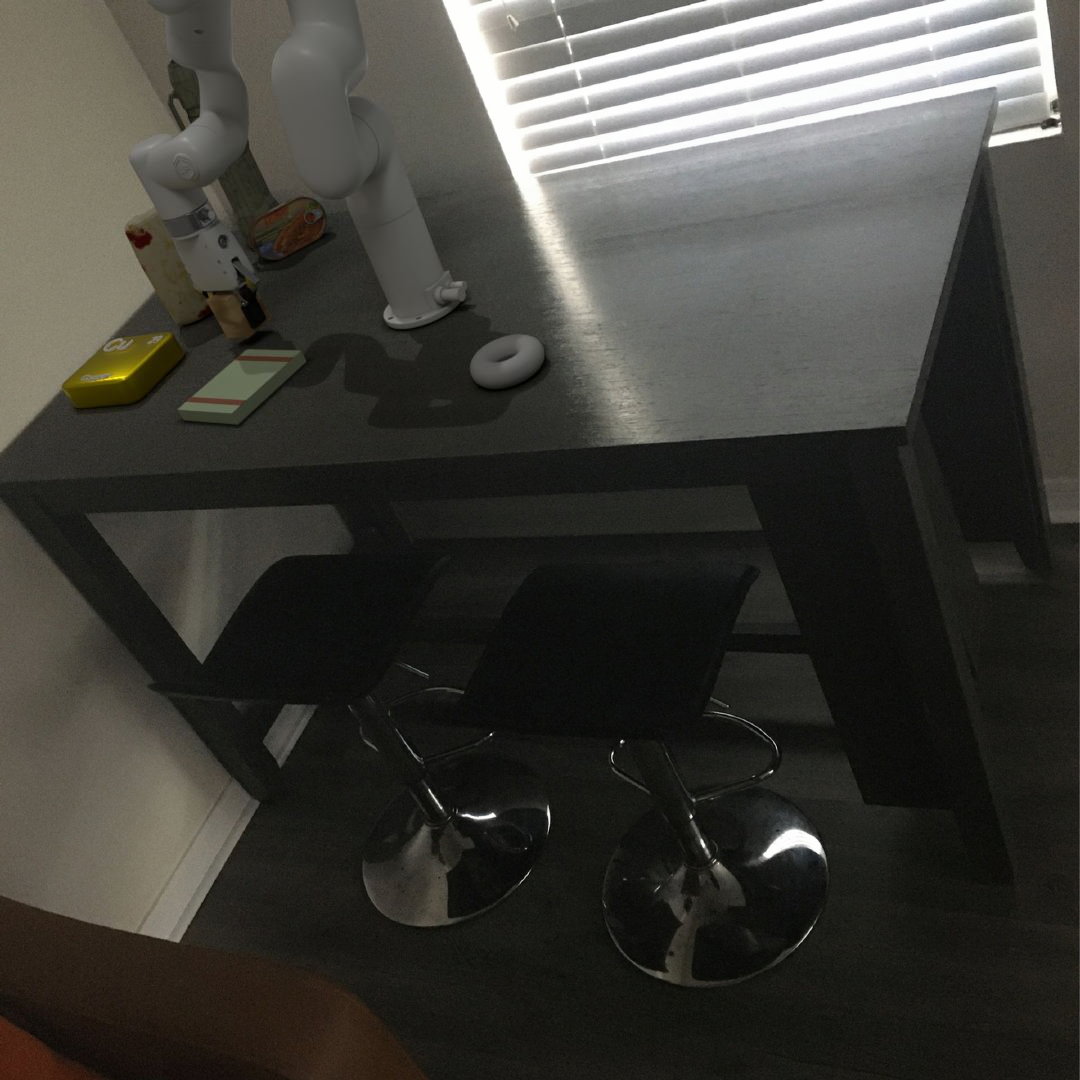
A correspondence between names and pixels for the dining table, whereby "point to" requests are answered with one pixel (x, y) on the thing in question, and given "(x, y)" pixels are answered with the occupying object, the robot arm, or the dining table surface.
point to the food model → (165, 268)
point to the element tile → (123, 370)
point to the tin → (287, 227)
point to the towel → (242, 386)
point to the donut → (507, 361)
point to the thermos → (241, 176)
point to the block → (233, 314)
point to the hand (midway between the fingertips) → (246, 323)
